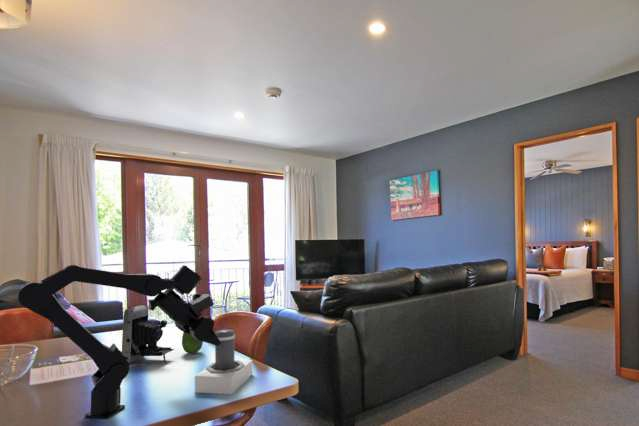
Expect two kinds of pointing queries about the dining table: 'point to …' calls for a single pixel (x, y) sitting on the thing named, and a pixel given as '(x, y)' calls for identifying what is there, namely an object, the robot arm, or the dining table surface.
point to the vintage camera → (141, 334)
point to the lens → (225, 350)
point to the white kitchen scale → (223, 378)
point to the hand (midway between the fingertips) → (213, 341)
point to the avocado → (190, 343)
